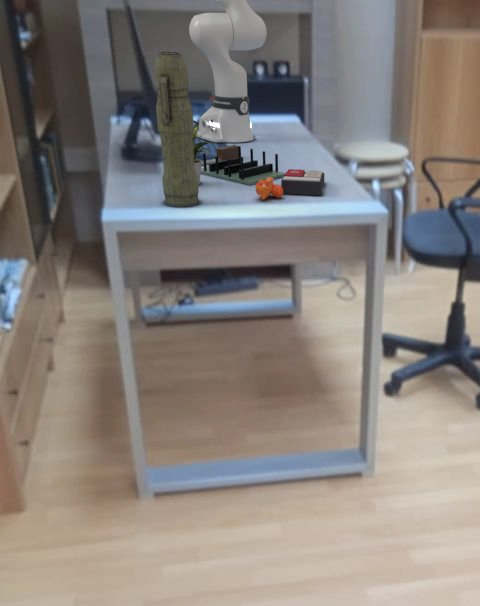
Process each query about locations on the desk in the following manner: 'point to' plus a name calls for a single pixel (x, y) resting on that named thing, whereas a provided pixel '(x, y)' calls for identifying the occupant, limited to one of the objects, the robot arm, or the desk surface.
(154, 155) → the desk surface
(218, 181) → the desk surface
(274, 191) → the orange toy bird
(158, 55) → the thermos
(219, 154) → the knife
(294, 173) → the calculator
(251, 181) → the rack
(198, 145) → the house plant
